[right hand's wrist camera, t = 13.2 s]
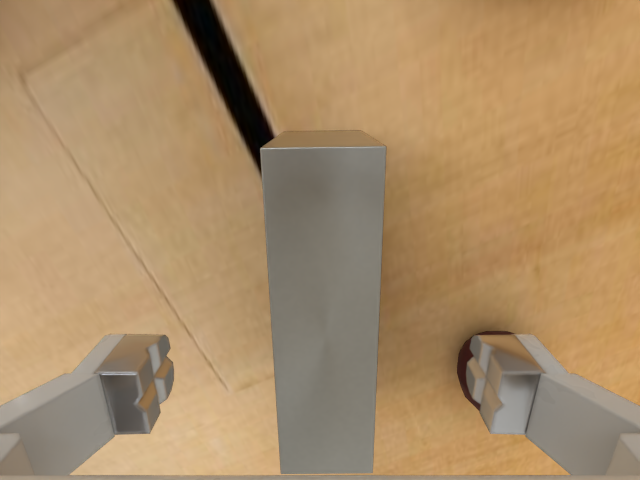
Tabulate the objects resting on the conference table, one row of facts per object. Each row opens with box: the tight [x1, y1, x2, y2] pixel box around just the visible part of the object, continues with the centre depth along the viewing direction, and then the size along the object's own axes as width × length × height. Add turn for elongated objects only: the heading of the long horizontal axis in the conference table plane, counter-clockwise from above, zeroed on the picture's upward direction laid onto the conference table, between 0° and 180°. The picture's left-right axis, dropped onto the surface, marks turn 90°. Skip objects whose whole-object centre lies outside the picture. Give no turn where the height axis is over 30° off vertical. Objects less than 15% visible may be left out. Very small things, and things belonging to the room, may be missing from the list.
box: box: [260, 130, 386, 474], centre depth 28 cm, size 21×6×12 cm, turn 1°
